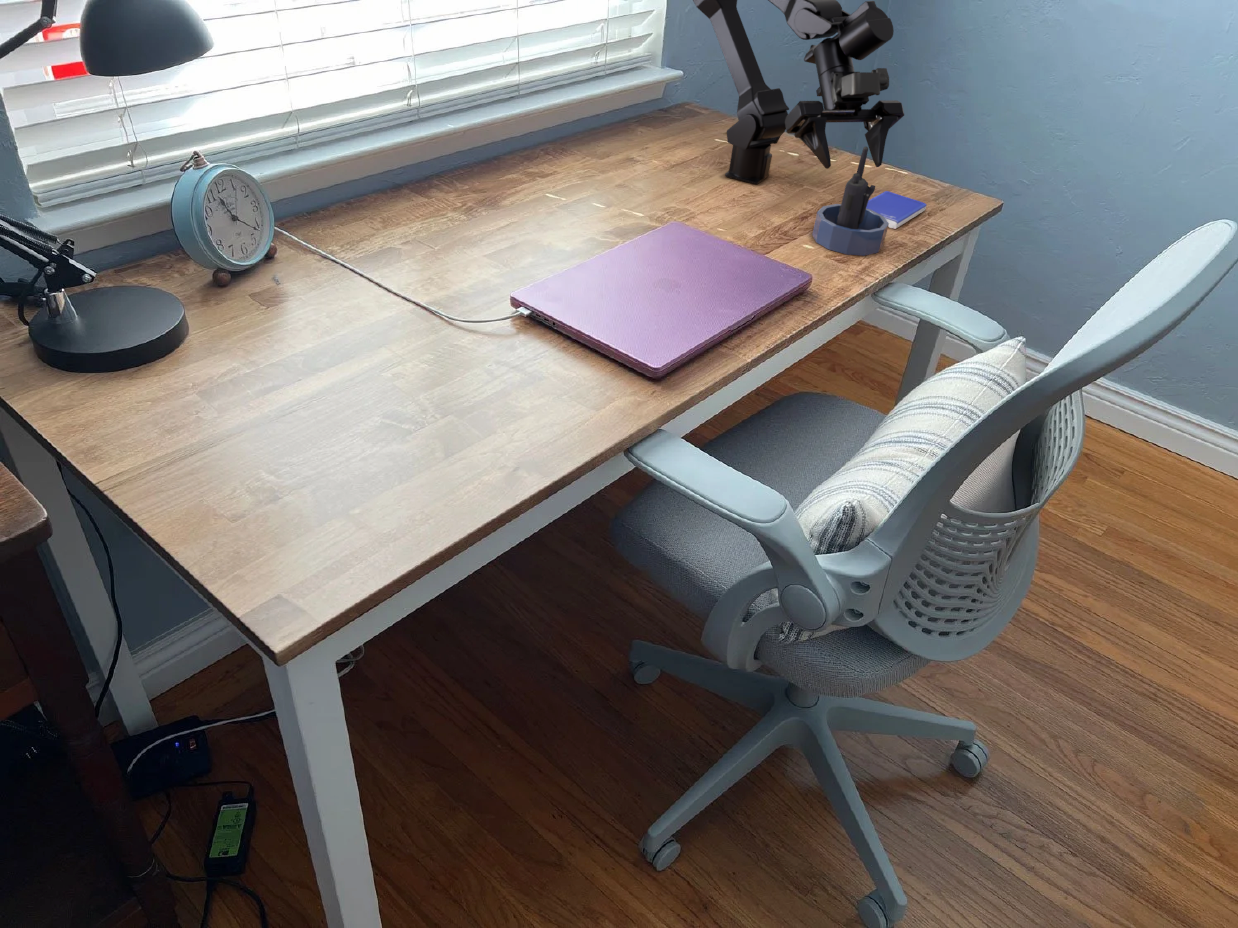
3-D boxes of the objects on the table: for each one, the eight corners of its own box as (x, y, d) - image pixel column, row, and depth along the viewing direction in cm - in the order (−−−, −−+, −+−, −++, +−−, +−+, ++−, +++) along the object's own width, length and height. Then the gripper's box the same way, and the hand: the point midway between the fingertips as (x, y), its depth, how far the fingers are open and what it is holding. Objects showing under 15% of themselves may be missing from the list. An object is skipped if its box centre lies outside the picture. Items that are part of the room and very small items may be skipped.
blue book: (898, 221, 161) (927, 203, 169) (854, 206, 164) (885, 190, 172) (895, 230, 161) (924, 211, 170) (852, 215, 165) (883, 198, 173)
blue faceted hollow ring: (804, 243, 154) (809, 219, 151) (825, 221, 162) (830, 199, 159) (871, 261, 150) (877, 237, 147) (889, 238, 158) (895, 215, 156)
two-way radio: (838, 232, 159) (860, 142, 150) (864, 238, 157) (887, 148, 148) (829, 242, 154) (851, 151, 146) (856, 250, 153) (879, 157, 144)
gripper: (807, 46, 143) (826, 144, 141) (914, 48, 148) (933, 142, 147) (776, 85, 154) (792, 177, 152) (876, 85, 159) (894, 174, 157)
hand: (853, 167), depth 152 cm, fingers open, 9 cm apart
